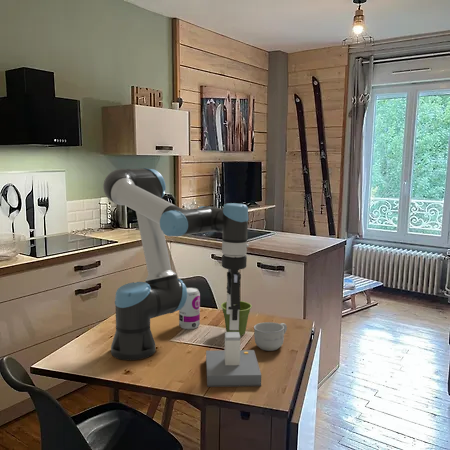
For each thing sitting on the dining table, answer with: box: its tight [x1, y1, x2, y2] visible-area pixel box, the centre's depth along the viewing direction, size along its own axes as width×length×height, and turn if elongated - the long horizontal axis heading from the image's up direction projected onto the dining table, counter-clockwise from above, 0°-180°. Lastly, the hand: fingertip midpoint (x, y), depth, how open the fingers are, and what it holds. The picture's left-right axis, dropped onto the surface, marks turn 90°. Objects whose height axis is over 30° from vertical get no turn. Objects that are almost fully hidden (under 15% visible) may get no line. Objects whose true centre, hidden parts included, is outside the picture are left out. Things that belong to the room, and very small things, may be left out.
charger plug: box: [224, 331, 241, 365], centre depth 145 cm, size 4×4×12 cm
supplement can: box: [178, 287, 201, 330], centre depth 185 cm, size 8×8×15 cm
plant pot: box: [220, 300, 253, 337], centre depth 178 cm, size 12×12×11 cm
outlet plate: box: [205, 349, 262, 388], centre depth 146 cm, size 16×18×4 cm
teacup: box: [253, 321, 288, 352], centre depth 166 cm, size 14×11×8 cm
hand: (232, 321), depth 144 cm, fingers open, 13 cm apart
